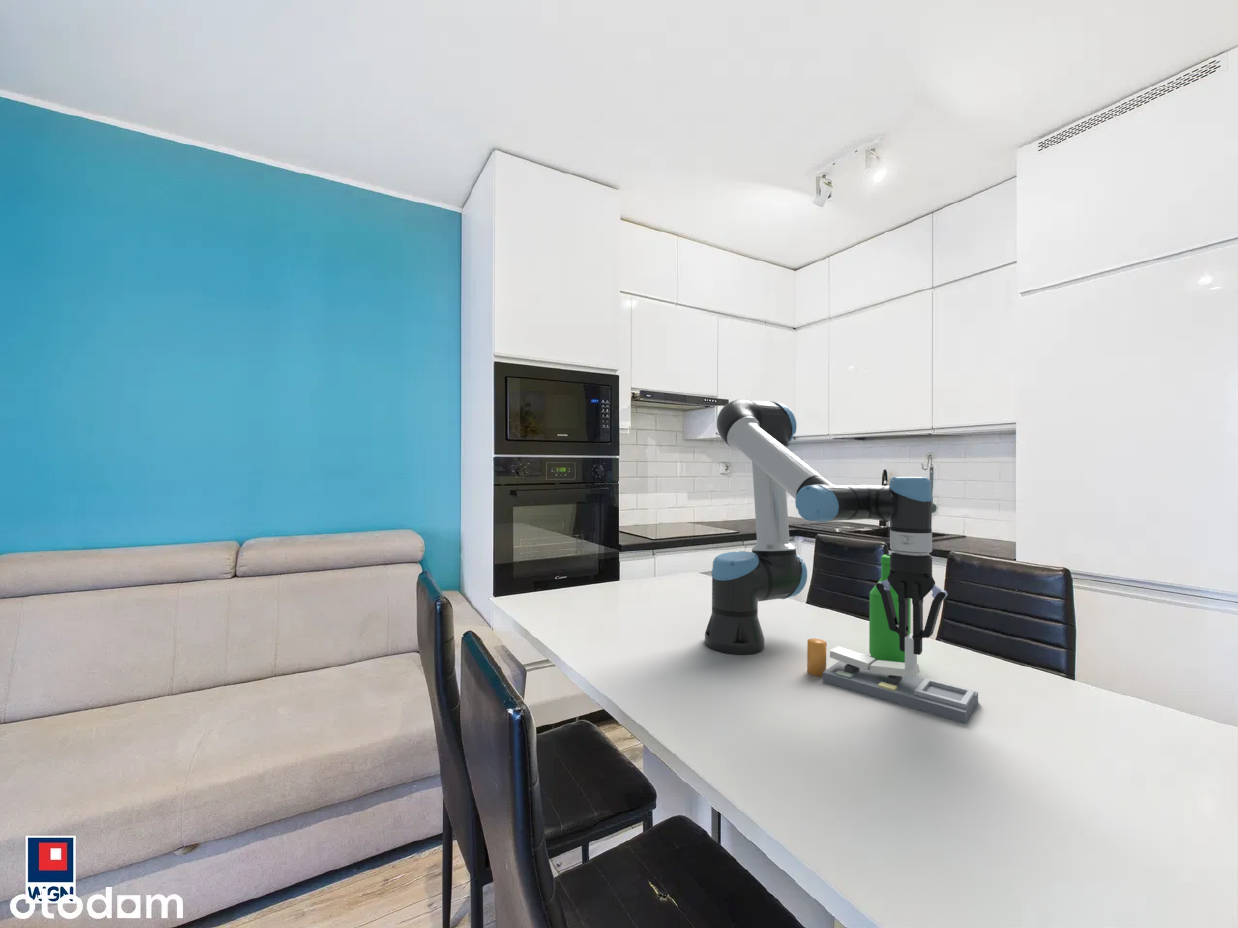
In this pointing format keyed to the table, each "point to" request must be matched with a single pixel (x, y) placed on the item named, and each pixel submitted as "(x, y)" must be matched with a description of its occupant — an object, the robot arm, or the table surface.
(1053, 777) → the table surface
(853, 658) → the block
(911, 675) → the breaker
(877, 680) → the panel
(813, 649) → the pin
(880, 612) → the bottle
